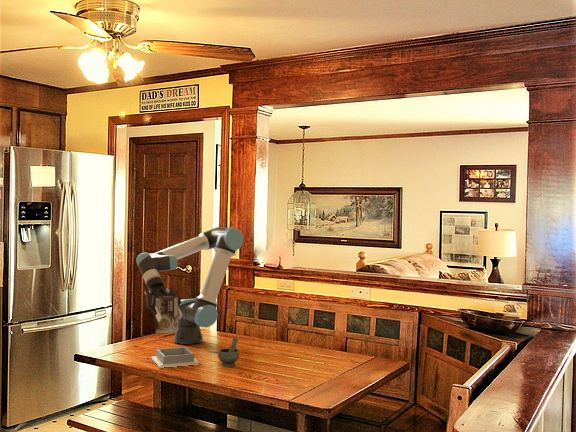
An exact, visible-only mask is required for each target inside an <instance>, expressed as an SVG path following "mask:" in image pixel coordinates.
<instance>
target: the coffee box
mask: <svg viewBox="0 0 576 432" xmlns="http://www.w3.org/2000/svg"><path fill="white" fill-rule="evenodd" d="M178 298H179V296H178V295H177V296H165V295H164V296H159V297H157V298H156V303H155V307H157V308H158V311H159V313H160V315H161V317H162V319H161V320H160V322H158V320H157V318H156V317H155V333H156V334H157V333H160V334H161V333H162V334H176V332H177V331H178Z"/></svg>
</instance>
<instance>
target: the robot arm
mask: <svg viewBox="0 0 576 432" xmlns="http://www.w3.org/2000/svg"><path fill="white" fill-rule="evenodd" d="M243 245H244V236H243V234H242V232H241V231H240V229H238V228H235V227H225V226H224V227H223V226H217V227H214V228H211V229H209V230H207V231H204V232H201V233H200V234H198V236H196V237H194V238H191V239H188V240H186V241H184V242H180V243H177V244H175V245H173V246H172V245H171V246H170V247H167V248H165V249H163V250H159V251H157V252H154V253H148V252H142V253H139V255H137V257H136V260H135V263H136V264H137V268H138V269H139V272H140V274H141V276H142V278H143V280H144V283H145V285H146V287H147V288H146V289H145V290H144V292H143V294H144V297H145V308H146V310H149V311H150V312H152V314H153V316H155V319H156V318H157V320H158V322H160V320H161V319H162V317H161V315H160V313H159V311H158V308H157V307H156V298H157V297H159V296H178V295H177V294H176V293H175V292H174V290H173V288H172V287H170V286H169V287H168V288H166V287H165V285H164V282H163V279H162V278H161V275H160V273H159V272H166V271H167V272H169V271H173V270H174V271H175V270H176V269H177V267H178V260H180V259H182V258H185V257H188V256H191V255H192V254H195V253H198V252H201V251H203V250H204V251H209V250H212V249H214V255H213V259H212V261H211V264H210V267H209V269H208V273H207V275H206V278H205V281H204V284H203V287H202V289H201V291H200V295H198V296H196V298H188V299H187V298H186V299H180V298H179V297H178V331H177V332H175V333H174V334H175V335H174V338H173V342H176V343H175V344H177V343H182V344H181V345H183V344H191V345H194V344H193V343H199V344H201V343H200V342H202V341H203V340H204V337H203V335H202V331H201V328H209V327H211V326H213V325H214V324H215V323H216V321H217V320H218V317H219V312H218V309H217V308H218V302H217V298H218V296H219V292H220V289H221V287H222V284H223V281H224V278H225V276H226V273H227V269H228V266H229V265H230V261H231V258H233V257H234V256H235V255H236V252H237V251H238V250H239V249H241V248H242V246H243ZM151 295H152V299H151ZM202 343H203V342H202Z"/></svg>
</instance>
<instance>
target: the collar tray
mask: <svg viewBox="0 0 576 432" xmlns="http://www.w3.org/2000/svg"><path fill="white" fill-rule="evenodd" d="M155 352H156V353H155V354H156V355H154V356H153V355H151V358H152V360H153V361H154V362H155V363H156V364H157V365H156V364H155V363H154V362H153V361H152V360H151V361H152V362H153V363H154V364H155V365H156V367H157V366H158V367H159V368H163V369H165V368H164V367H174V368H178V367H177V366H185V367H189V366H188V365H196V366H200V361H198V359H196V358H195V353H193V352H192V351H191V350H190V349H189V348H188V347H186V346H177V347H167V348H166V347H164V348H155ZM151 358H150V359H151ZM158 367H157V368H158ZM159 368H158V369H159Z"/></svg>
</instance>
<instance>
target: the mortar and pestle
mask: <svg viewBox="0 0 576 432" xmlns="http://www.w3.org/2000/svg"><path fill="white" fill-rule="evenodd" d="M238 341H239V338H236V337H232V341H231V344H230V347H226V348H221V349H218V351H217V352H218V353H217V354H218V355H217V356H218V359H219V361H220V362H221V367H223V368H234V367H236V362H237V361H238V360H239V357H240V349H237V344H238Z"/></svg>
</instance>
